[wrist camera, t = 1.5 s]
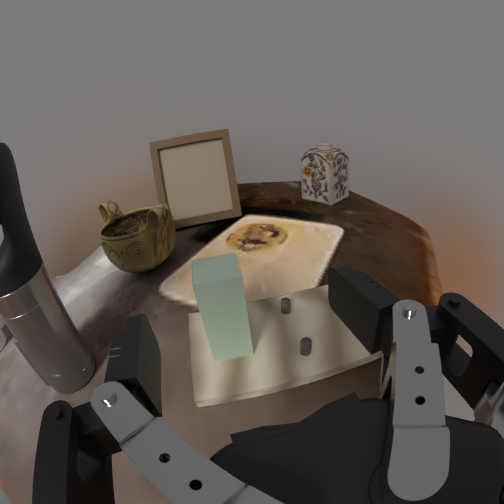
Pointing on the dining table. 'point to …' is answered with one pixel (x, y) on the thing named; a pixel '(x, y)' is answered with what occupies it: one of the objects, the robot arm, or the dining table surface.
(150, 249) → the ceramic bowl
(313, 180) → the decorative jar
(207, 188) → the photo frame
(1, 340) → the white cup
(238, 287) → the green block
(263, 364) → the peg board
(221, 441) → the dining table surface
